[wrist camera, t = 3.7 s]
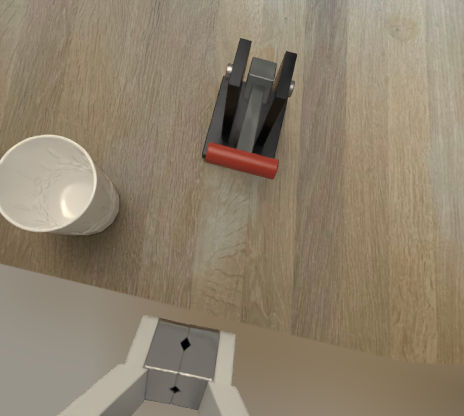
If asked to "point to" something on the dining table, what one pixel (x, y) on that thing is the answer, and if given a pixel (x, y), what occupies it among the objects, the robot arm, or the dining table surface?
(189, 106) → the dining table surface
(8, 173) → the white cup
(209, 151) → the power lever
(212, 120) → the switch bracket
